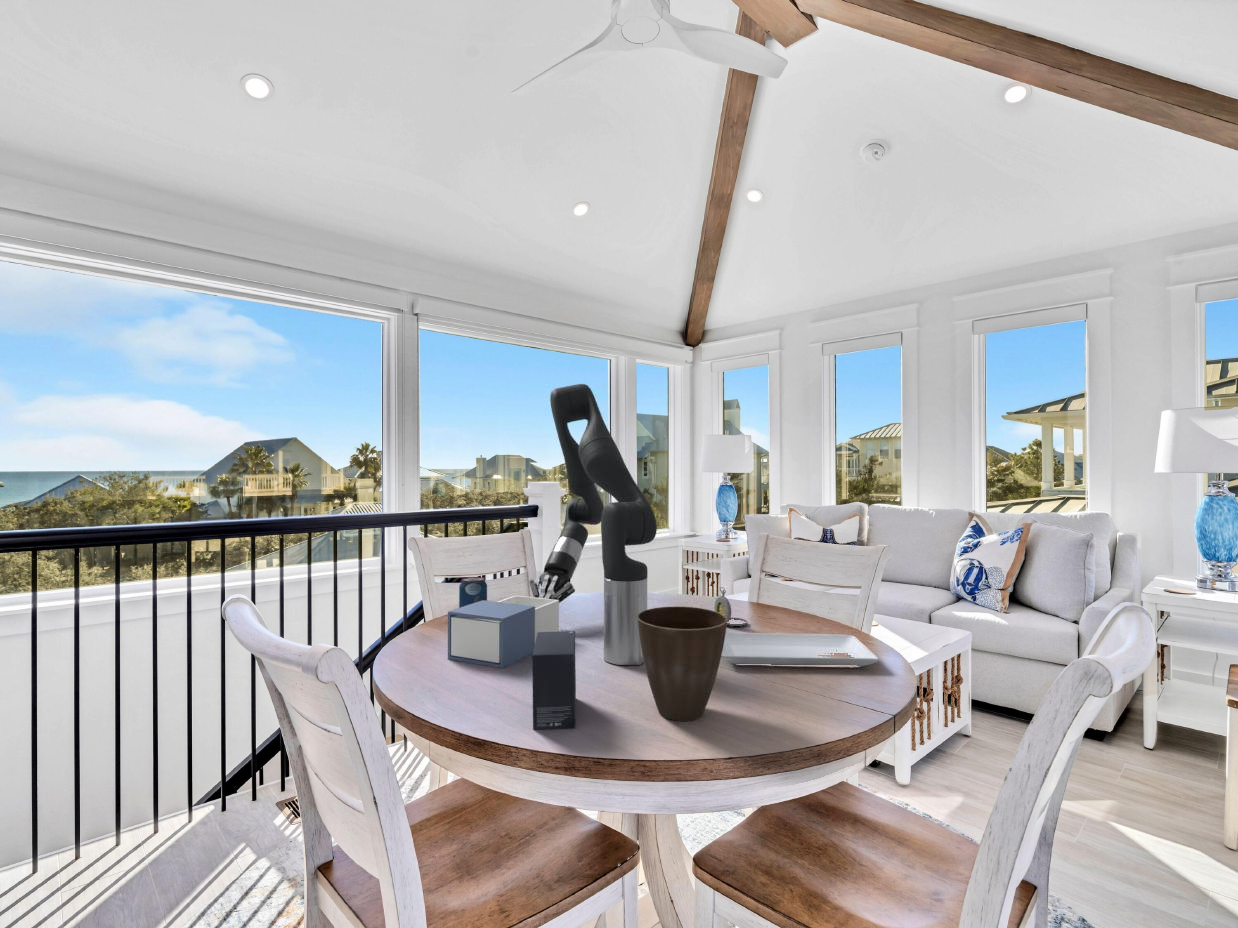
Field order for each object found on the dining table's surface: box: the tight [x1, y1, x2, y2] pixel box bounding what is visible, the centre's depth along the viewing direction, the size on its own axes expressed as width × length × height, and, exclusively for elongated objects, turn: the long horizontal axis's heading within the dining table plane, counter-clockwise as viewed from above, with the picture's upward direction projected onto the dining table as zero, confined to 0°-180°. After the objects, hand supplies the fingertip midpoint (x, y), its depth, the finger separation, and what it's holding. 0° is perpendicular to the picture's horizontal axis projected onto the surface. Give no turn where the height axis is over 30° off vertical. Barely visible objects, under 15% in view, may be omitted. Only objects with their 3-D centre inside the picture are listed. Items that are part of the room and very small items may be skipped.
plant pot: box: [637, 605, 728, 722], centre depth 103 cm, size 15×15×16 cm
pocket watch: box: [714, 586, 749, 627], centre depth 160 cm, size 8×8×10 cm
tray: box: [721, 631, 880, 667], centre depth 133 cm, size 17×32×4 cm, turn 87°
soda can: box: [458, 576, 488, 608], centre depth 158 cm, size 7×7×12 cm
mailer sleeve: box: [447, 600, 535, 669], centre depth 134 cm, size 14×12×10 cm
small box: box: [531, 630, 577, 731], centre depth 103 cm, size 13×7×12 cm, turn 4°
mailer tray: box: [451, 595, 560, 663], centre depth 139 cm, size 12×24×8 cm, turn 155°
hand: (538, 615), depth 151 cm, fingers closed
